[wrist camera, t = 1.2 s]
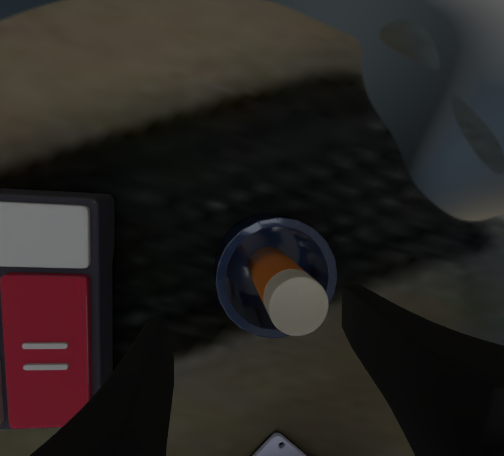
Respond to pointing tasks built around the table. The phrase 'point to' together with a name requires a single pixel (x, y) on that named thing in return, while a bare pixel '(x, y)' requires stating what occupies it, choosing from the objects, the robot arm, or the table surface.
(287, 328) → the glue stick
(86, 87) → the table surface
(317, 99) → the table surface
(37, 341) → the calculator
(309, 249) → the dark blue round bowl
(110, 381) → the robot arm
